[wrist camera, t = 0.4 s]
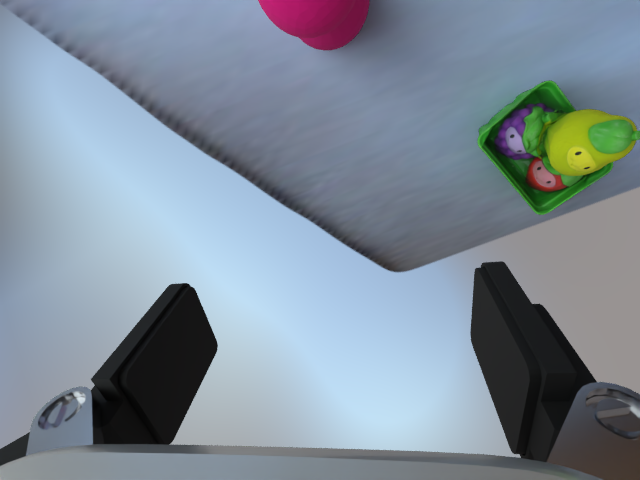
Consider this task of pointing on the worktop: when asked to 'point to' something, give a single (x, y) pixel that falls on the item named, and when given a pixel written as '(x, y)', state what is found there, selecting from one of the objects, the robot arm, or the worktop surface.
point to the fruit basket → (554, 145)
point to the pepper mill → (318, 20)
